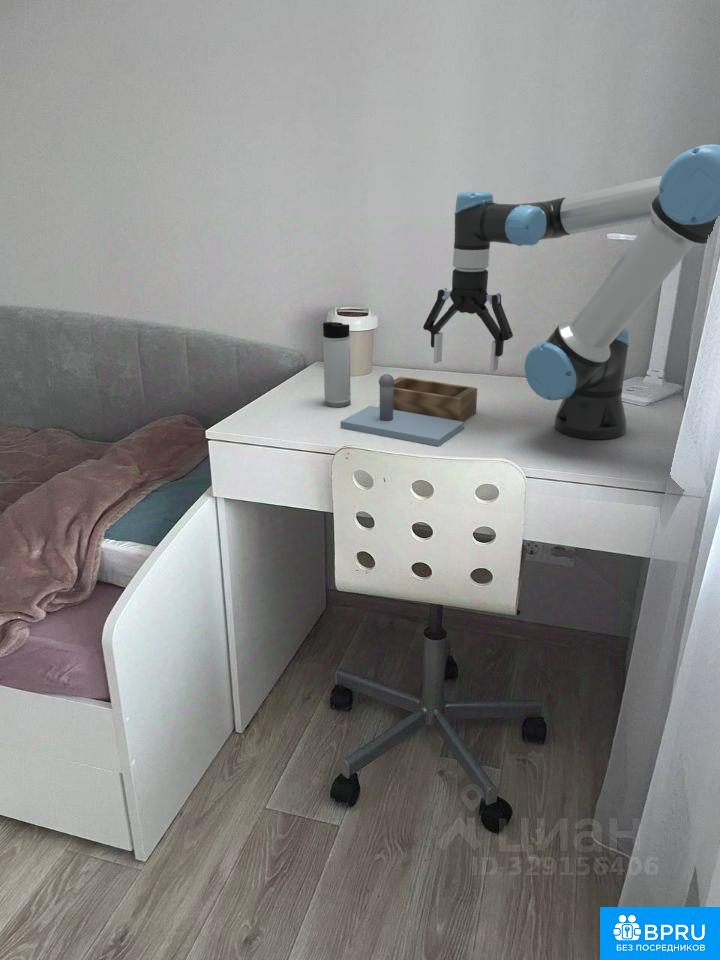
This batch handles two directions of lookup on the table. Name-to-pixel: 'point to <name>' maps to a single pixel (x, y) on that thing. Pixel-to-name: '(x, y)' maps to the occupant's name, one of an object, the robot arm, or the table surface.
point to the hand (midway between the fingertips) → (465, 366)
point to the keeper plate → (401, 421)
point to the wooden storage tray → (434, 398)
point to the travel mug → (336, 364)
